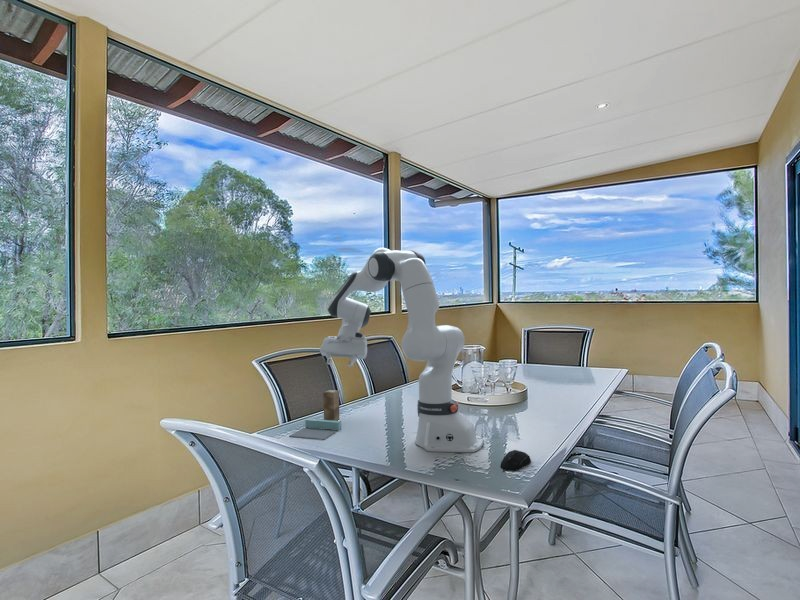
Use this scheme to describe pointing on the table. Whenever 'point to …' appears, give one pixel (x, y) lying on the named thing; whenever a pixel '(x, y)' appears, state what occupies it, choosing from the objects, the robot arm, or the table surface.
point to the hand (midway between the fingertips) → (339, 364)
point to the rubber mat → (312, 434)
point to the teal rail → (323, 424)
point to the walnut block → (331, 405)
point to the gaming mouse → (515, 460)
